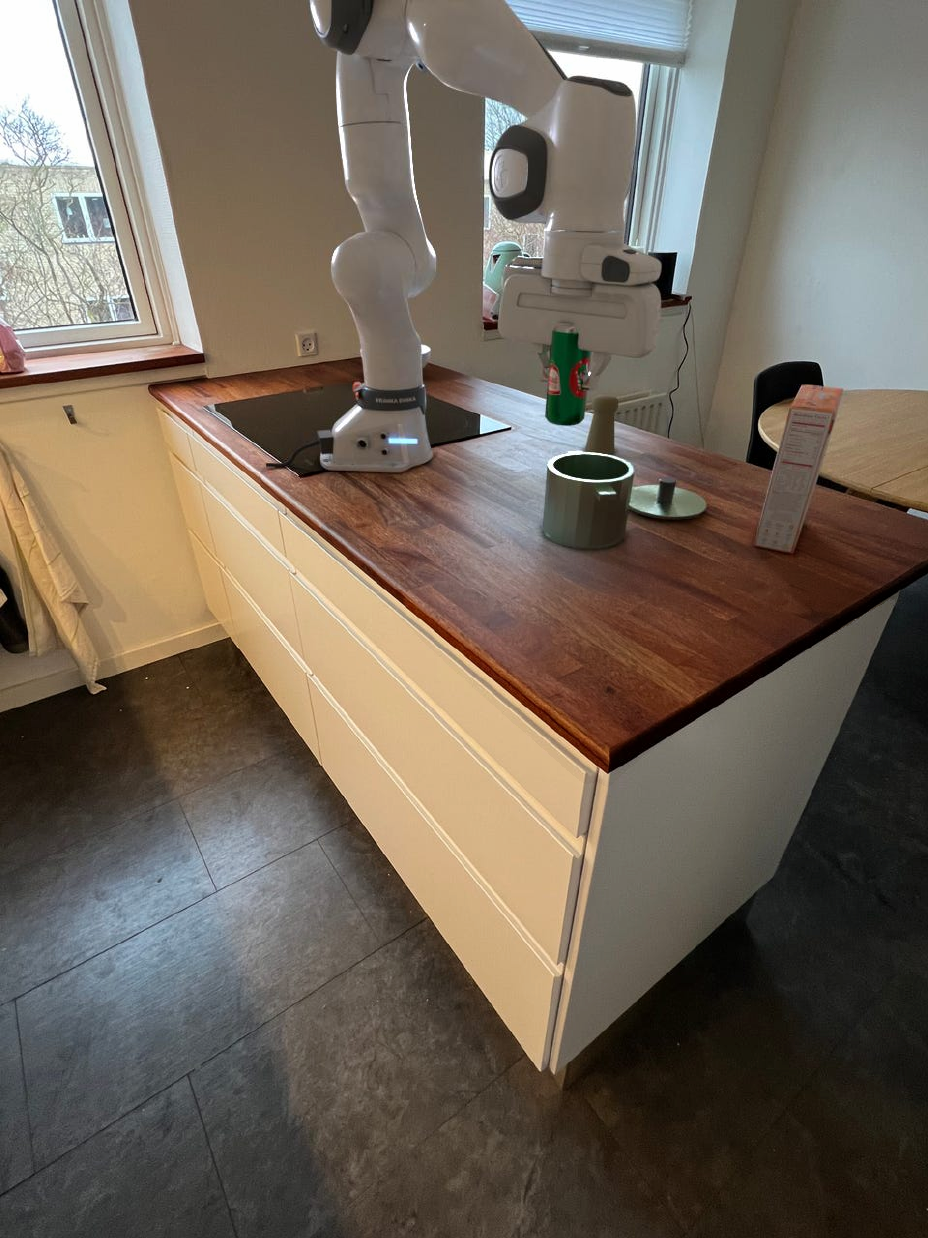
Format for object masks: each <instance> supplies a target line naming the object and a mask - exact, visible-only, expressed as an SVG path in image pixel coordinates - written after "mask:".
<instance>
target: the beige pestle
mask: <svg viewBox="0 0 928 1238" xmlns="http://www.w3.org/2000/svg"><path fill="white" fill-rule="evenodd" d="M591 409H592V411H593V414H592V418H591V422H590V427H589V431H588V434H587V439H586V443H585V447H584V450H585V452H588V453H600V454H606V455H611V454H613V453H614V452H615V414H616V412H617V411H618V409H619V399H618V398H617V397H616V396H614V395H612V394H604V393H603V394H598V395H596V396H594V398H593V399H592V402H591Z"/></svg>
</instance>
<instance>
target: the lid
mask: <svg viewBox="0 0 928 1238" xmlns="http://www.w3.org/2000/svg"><path fill="white" fill-rule="evenodd" d="M676 485H677V480H676V478H673V477H668V476H664V477H661V478H659V483H658V484H645V485H639V486H635V487H634V486H633V487H632V492H631V498H630V504H629V510H630V511H633V512H634V513H637V514H640V515H642V516H646V517H650V518H655V519H658V520H659V519H660V520H667V521H668V520H669V521H675V520H676V521H680V520H682V521H683V520H689V519H694V518H697V517H700V516H702V514H704V513H705V511H706V510H707V502H706V500H705V499H704V498H703V497H702V496H701V495H699V494H697V493H695V492H693V491H690V490H688V489H684V488H681V487H677V486H676Z"/></svg>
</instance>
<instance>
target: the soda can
mask: <svg viewBox="0 0 928 1238" xmlns="http://www.w3.org/2000/svg"><path fill="white" fill-rule="evenodd" d="M557 324H558V325H557V326H556V327H555V328H554V330H553V331H552V341H551V345H550V351H549V356H548V358H549V371H548V383H547V386H546V399H545V413H544V417H545V419H546V421H548V423H550V424H552V425H555V426H560V427H561V426H562V427H563V426H564V427H571V426H576V425H579V424H581V423H582V421H584V420H585V414H586V406H587V396H588V390H585V389H582V383H583V381H582V379H583V375H585V374H588V373H589V372H590V371H591V370H590V368H591V360H592V351H585V350H580V349H579V347H578V339H579V333H578V332H577V330H576V328H575V326H576V324H573V323H562V322H557Z"/></svg>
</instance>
